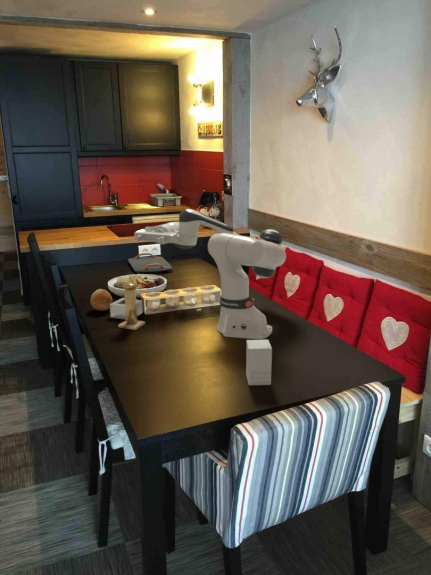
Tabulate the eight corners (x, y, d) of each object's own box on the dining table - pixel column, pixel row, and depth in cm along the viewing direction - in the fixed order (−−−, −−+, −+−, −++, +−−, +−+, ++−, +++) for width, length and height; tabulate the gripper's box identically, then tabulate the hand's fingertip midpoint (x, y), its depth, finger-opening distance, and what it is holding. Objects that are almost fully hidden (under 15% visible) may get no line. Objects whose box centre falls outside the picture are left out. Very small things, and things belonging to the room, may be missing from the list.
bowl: (98, 297, 241) (97, 282, 239) (123, 281, 269) (122, 267, 267) (154, 301, 234) (154, 286, 232) (174, 284, 262) (174, 270, 260)
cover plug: (141, 321, 203) (139, 282, 199) (134, 326, 198) (131, 286, 193) (129, 319, 206) (127, 281, 201) (121, 324, 200) (119, 285, 196)
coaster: (145, 323, 204) (145, 321, 204) (134, 330, 197) (134, 327, 197) (128, 321, 207) (128, 318, 207) (118, 327, 200) (118, 324, 200)
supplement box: (267, 374, 159) (269, 339, 155) (271, 385, 152) (272, 348, 148) (245, 375, 159) (246, 339, 155) (247, 385, 152) (248, 348, 148)
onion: (86, 312, 219) (84, 290, 216) (100, 305, 227) (99, 285, 224) (103, 315, 214) (101, 293, 211) (117, 308, 223) (116, 288, 220)
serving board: (174, 274, 285) (174, 263, 283) (135, 277, 278) (135, 266, 276) (161, 259, 320) (161, 250, 318) (126, 262, 313) (126, 252, 312)
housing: (142, 313, 217) (141, 300, 215) (130, 320, 208) (129, 307, 206) (123, 310, 221) (122, 297, 219) (110, 317, 212) (109, 304, 210)
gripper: (182, 242, 221) (168, 248, 209) (144, 239, 229) (128, 245, 217) (182, 229, 219) (167, 234, 207) (143, 226, 227) (127, 231, 215)
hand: (147, 239), depth 212 cm, fingers open, 8 cm apart
